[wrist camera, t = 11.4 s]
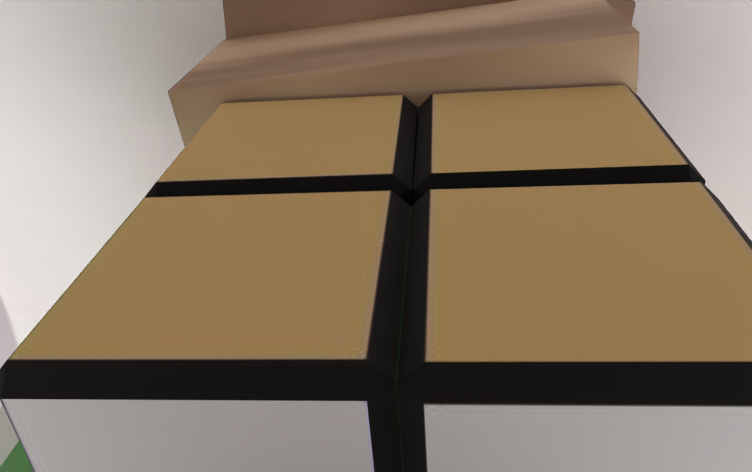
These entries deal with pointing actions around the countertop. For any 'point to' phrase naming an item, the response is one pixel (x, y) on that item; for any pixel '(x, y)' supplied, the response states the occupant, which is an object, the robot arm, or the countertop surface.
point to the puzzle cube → (406, 299)
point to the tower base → (342, 12)
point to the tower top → (418, 57)
